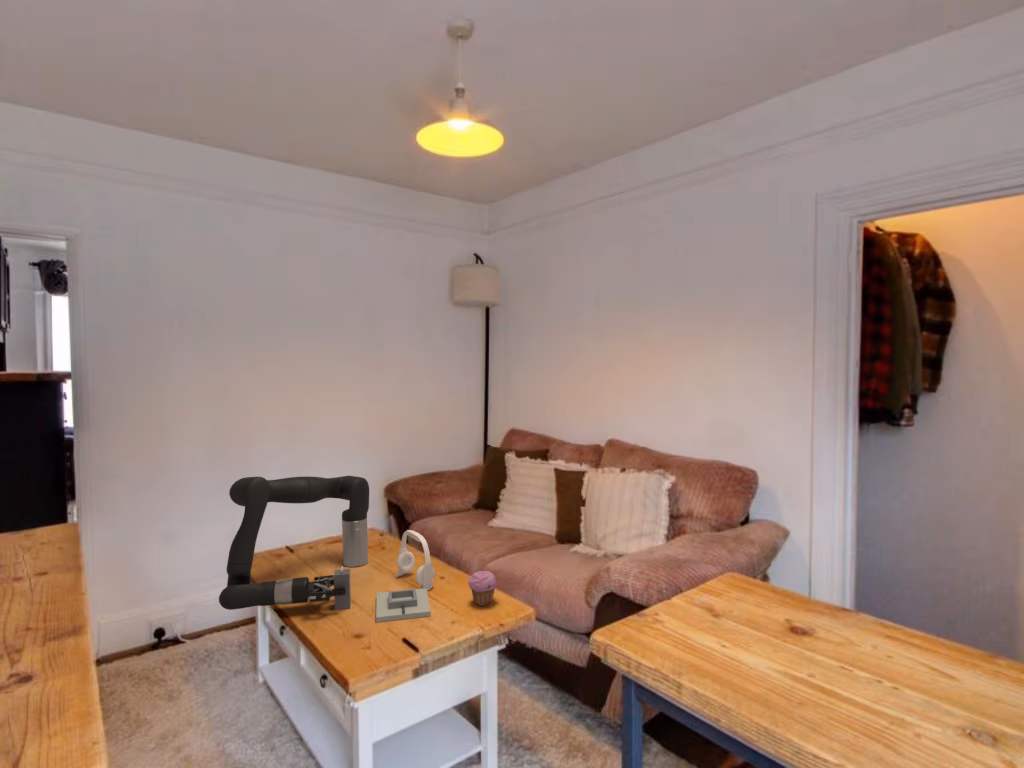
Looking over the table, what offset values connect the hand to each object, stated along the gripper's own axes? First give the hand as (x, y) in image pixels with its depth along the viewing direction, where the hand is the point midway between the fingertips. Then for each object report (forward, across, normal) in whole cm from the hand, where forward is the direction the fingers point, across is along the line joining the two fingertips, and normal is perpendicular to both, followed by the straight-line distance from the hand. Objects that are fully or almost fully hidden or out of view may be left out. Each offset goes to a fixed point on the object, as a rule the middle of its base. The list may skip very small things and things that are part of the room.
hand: (346, 585), depth 179 cm
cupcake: (+42, -8, +7) cm, 43 cm away
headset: (+22, +13, +7) cm, 27 cm away
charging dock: (+17, -5, +6) cm, 19 cm away
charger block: (-1, 0, +6) cm, 7 cm away
